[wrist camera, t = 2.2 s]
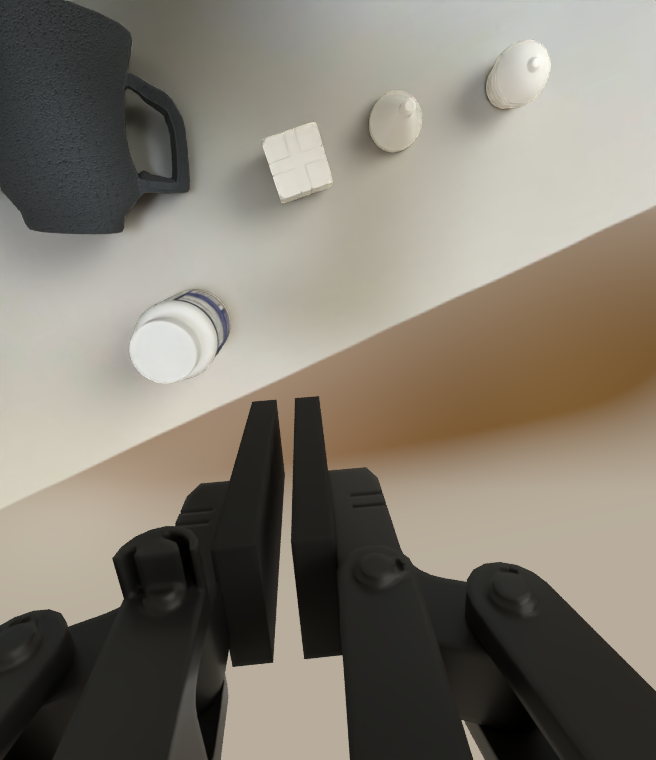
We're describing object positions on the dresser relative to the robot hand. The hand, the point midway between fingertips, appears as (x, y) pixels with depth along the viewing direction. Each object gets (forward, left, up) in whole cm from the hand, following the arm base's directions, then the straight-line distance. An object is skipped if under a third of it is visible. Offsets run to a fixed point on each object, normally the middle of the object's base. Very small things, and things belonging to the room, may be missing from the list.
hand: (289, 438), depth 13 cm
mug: (+11, -19, -18) cm, 29 cm away
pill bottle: (+8, 0, -23) cm, 24 cm away
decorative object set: (-9, -13, -23) cm, 28 cm away
